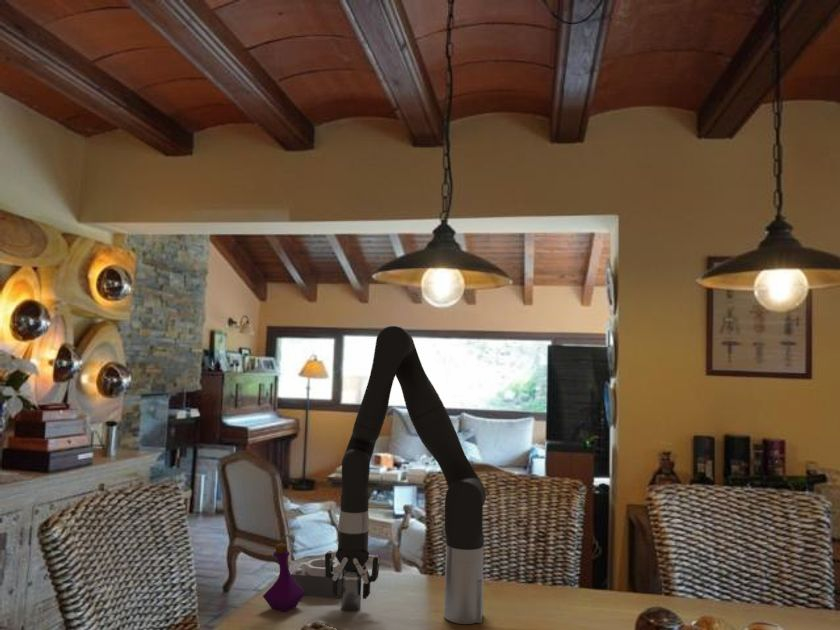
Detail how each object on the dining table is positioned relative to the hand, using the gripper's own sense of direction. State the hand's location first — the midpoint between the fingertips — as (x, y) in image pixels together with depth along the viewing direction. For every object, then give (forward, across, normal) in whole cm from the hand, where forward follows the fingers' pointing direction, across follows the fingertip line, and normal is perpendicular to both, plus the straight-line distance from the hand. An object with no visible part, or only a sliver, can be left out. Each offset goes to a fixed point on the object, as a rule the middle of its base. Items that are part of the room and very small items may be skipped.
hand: (351, 596), depth 158 cm
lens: (+3, 0, 0) cm, 3 cm away
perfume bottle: (+3, +16, +4) cm, 17 cm away
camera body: (+3, +11, -10) cm, 15 cm away
